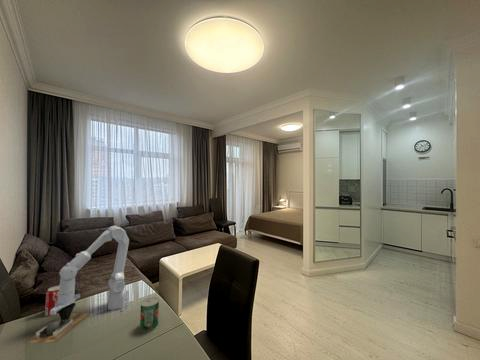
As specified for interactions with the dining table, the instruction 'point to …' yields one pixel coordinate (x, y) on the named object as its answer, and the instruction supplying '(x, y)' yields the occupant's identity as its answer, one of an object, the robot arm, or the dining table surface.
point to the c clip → (62, 328)
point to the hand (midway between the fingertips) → (65, 321)
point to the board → (76, 320)
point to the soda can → (51, 299)
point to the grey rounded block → (52, 327)
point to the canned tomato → (149, 314)
